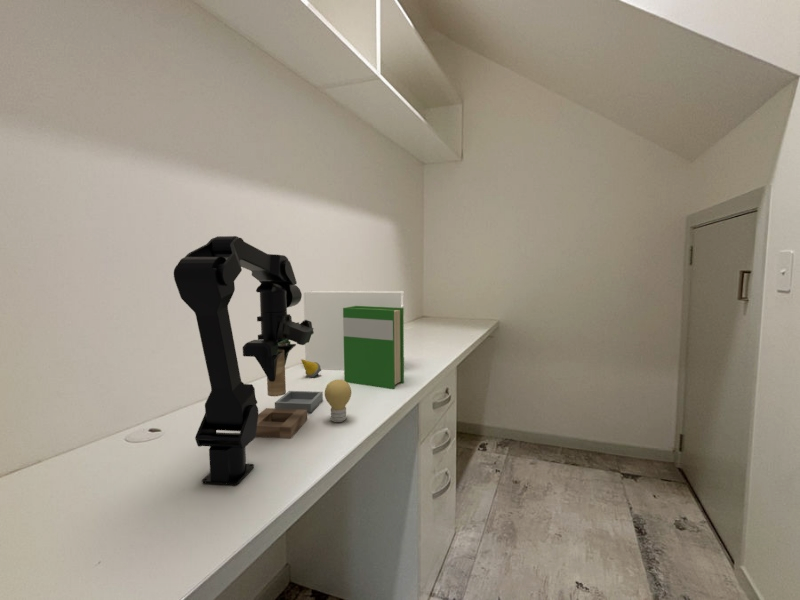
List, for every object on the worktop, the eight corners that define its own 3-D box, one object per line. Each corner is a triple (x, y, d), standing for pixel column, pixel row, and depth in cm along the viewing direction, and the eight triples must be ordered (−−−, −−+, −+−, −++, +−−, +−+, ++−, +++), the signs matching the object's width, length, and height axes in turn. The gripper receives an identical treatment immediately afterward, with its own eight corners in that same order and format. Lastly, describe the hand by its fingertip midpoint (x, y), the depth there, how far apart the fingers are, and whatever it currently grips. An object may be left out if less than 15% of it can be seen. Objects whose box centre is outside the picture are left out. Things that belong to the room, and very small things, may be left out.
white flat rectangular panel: (305, 369, 144) (303, 292, 141) (314, 363, 152) (312, 290, 149) (400, 372, 138) (400, 292, 135) (404, 366, 146) (403, 291, 143)
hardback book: (403, 382, 126) (403, 307, 124) (393, 389, 120) (392, 310, 117) (356, 376, 134) (355, 305, 132) (344, 382, 127) (343, 308, 125)
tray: (311, 413, 101) (310, 403, 100) (275, 412, 102) (274, 402, 101) (322, 400, 110) (322, 391, 110) (289, 399, 111) (289, 390, 111)
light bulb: (350, 425, 93) (350, 383, 92) (323, 426, 93) (322, 384, 92) (352, 415, 99) (352, 376, 98) (327, 415, 99) (326, 376, 98)
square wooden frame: (290, 438, 86) (290, 427, 86) (245, 436, 87) (244, 425, 87) (307, 419, 97) (307, 409, 96) (266, 418, 98) (266, 408, 98)
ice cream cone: (325, 378, 134) (307, 362, 127) (311, 383, 135) (293, 368, 128) (325, 365, 138) (308, 349, 131) (312, 371, 139) (294, 356, 132)
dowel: (281, 396, 89) (280, 353, 88) (264, 396, 90) (262, 352, 89) (288, 391, 93) (287, 349, 92) (272, 390, 94) (270, 348, 93)
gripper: (292, 317, 79) (294, 392, 81) (321, 306, 98) (322, 368, 99) (239, 316, 81) (243, 391, 82) (277, 306, 99) (280, 367, 101)
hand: (276, 378), depth 91 cm, fingers closed on dowel, 4 cm apart
